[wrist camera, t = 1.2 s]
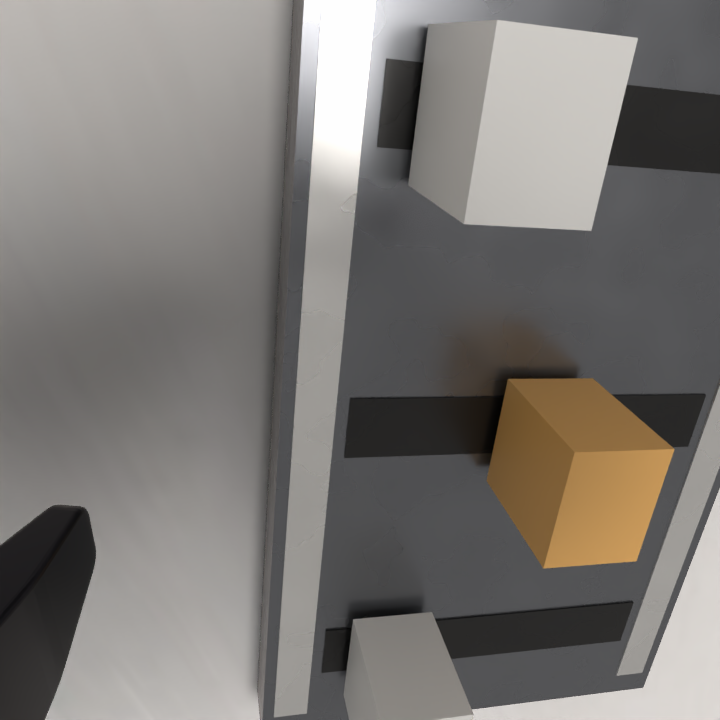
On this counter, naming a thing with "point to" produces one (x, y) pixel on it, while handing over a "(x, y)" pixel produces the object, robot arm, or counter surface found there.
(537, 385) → the orange block
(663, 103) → the panel
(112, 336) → the counter surface
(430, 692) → the grey small block
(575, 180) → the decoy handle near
